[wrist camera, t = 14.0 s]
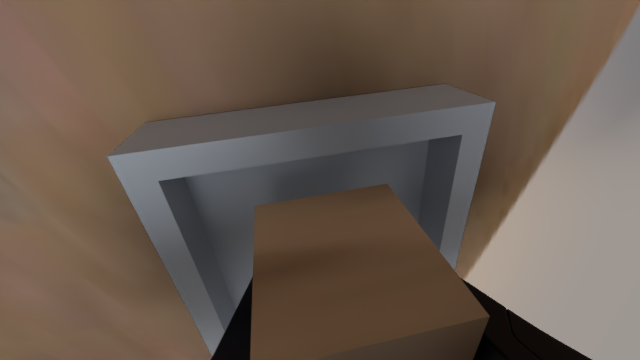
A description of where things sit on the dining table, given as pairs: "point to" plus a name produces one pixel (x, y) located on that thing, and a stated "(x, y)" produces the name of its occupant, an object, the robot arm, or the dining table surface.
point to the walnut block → (355, 284)
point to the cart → (295, 178)
